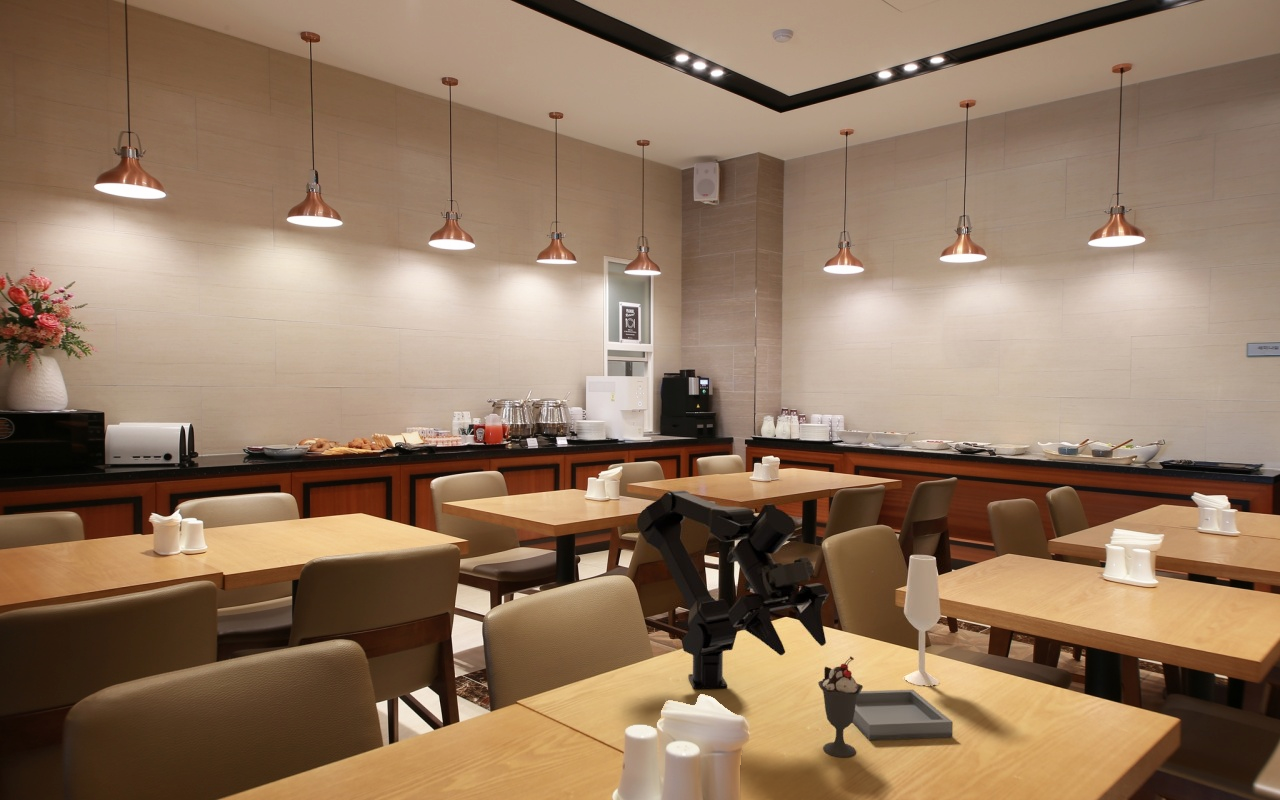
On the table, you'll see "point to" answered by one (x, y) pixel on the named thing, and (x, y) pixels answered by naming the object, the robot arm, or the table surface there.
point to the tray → (899, 716)
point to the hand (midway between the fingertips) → (803, 649)
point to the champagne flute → (922, 608)
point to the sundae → (839, 705)
